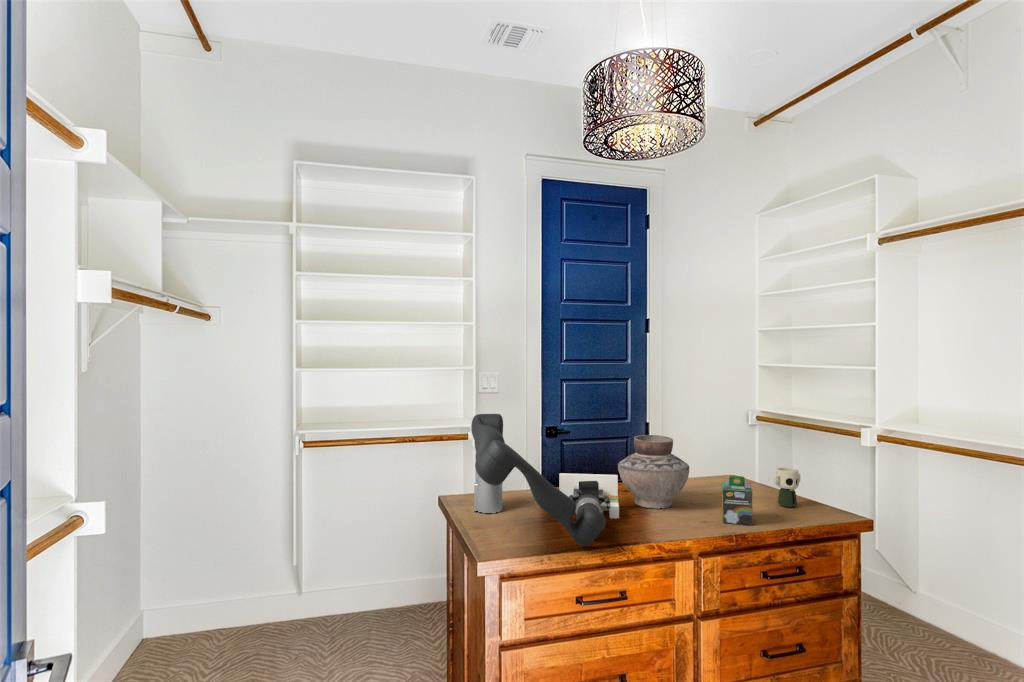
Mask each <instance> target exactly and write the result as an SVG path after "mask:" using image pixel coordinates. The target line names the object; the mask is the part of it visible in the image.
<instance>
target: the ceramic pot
mask: <svg viewBox="0 0 1024 682" xmlns="http://www.w3.org/2000/svg"><path fill="white" fill-rule="evenodd" d="M673 446H674V439H673V437H668V436H664V435H660V434H659V435H657V434H643V435H641V434H640V435H636V436H634V437H633V449H634V451H635V452H634V453H631V454H630V455H628V456H626V457H625V458H624V459H622V460H620V461H619V462H618V464H617V471H618V473H619V477H620V480H621V481H622V484H623V486H625V488H626V489H627V490H628V491H629V492H630V493H631V494H632V495H633V496H634V503H635V505H636V506H639V507H642V508H647V509H655V510H657V509H659V510H660V508H662V509H668V508H670V507H671V506H672V502H673V501H672V499H673V498H675V497H676V496H677V495H678V494H680V492H681V491H682V490H683V488H684V487H685V485H686V483H687V482H688V478H689V475H690V465H689V464H688V463H687V462H685V461H684V460H683V459H681V458H680V457H678V456H676V455H675V454H672V452H673V448H674V447H673Z"/></svg>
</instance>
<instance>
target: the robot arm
mask: <svg viewBox="0 0 1024 682" xmlns="http://www.w3.org/2000/svg"><path fill="white" fill-rule="evenodd" d="M470 427H471V429H470V430H471V435H472V437H473V440H474V446H475V447H474V448H475V449H474V450H475V451H476V452H475V463H474V467H475V468H474V469H475V482H474V486H473V487H474V488H473V489H474V490H473V491H474V494H473V495H474V496H473V498H474V501H473V503H474V504H473V505H474V506H473V507H474V508H473V511H478V512H477V513H479V512H482V513H481V514H485V513H492V514H497V513H496V512H498V513H500V511H501V512H502V511H503V482H505V481H506V479H507V478H508V476H509V475H510V473H512V471H513V470H514V468H516V469H517V470H518V471H520V472H521V473H522V475H523V477H524V478H525V480H526V482H527V484H528V487H529V488H530V492H531V495H532V497H533V499H534V500H535V502H536V504H537V505H538V507H539V508H540V509H542V510H543V512H545V513H547V514H548V515H549V516H550V517H552V518H554V519H555V520H556V521H558V522H559V523H560V524H561V526H563V527H564V528H565V530H566V531H567V533H569V535H570V536H571V537H572V539H573V540H574V541H575V542H576V543H577V544H579V546H584V547H588V546H590V545H591V544H592V543H593V542H595V539H596V538H597V537H598V535H599V534H600V533H601V532H602V531H603V529H604V528H605V526H606V524H607V520H606V517H605V516H604V513H601V508H602V506H605V508H607V509H610V500H609V498H608V497H607V496H605V497H604V498H603V497H602V495H600V493H599V496H593V495H590V494H586V495H583V496H582V495H579V494H578V493H577V494H575V496H574V497H573V495H570V496H569V497H568V496H567V495H565V494H564V493H563V492H561V491H560V490H559V489H558V488H557V487H556V486H555V485H554V484H552V483H551V482H550V481H548V479H546V478H545V476H543V475H542V474H541V473H540V472H539V471H538V470H537V469H536V468H535V467H534V466H532V465H531V464H530V463H529V461H527V460H525V459H524V458H523V457H522V456H521V455H520V454H519V453H518V452H517V451H516V450H514V449H513V448H512V447H511V446H509V445H508V444H507V443H506V441H505V439H504V420H503V417H502V415H501V414H500V413H479V414H475V415H474V416H473V417H472V420H471V426H470ZM575 510H576V512H575ZM575 514H576V515H575ZM574 515H575V516H576V517H575V519H576V520H575V521H573V518H574Z"/></svg>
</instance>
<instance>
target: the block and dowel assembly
mask: <svg viewBox="0 0 1024 682" xmlns="http://www.w3.org/2000/svg"><path fill="white" fill-rule="evenodd" d="M578 492H579V487H574V496H575V494H577V493H578ZM599 493H600V495H602V497H603V498H604V497H605V496H607V495H603V488H602V487H599ZM607 497H608V498H618V499H619V495H618V496H607ZM575 513H576V510H575ZM601 513H602V514H604V511H603V506H602V508H601Z"/></svg>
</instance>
